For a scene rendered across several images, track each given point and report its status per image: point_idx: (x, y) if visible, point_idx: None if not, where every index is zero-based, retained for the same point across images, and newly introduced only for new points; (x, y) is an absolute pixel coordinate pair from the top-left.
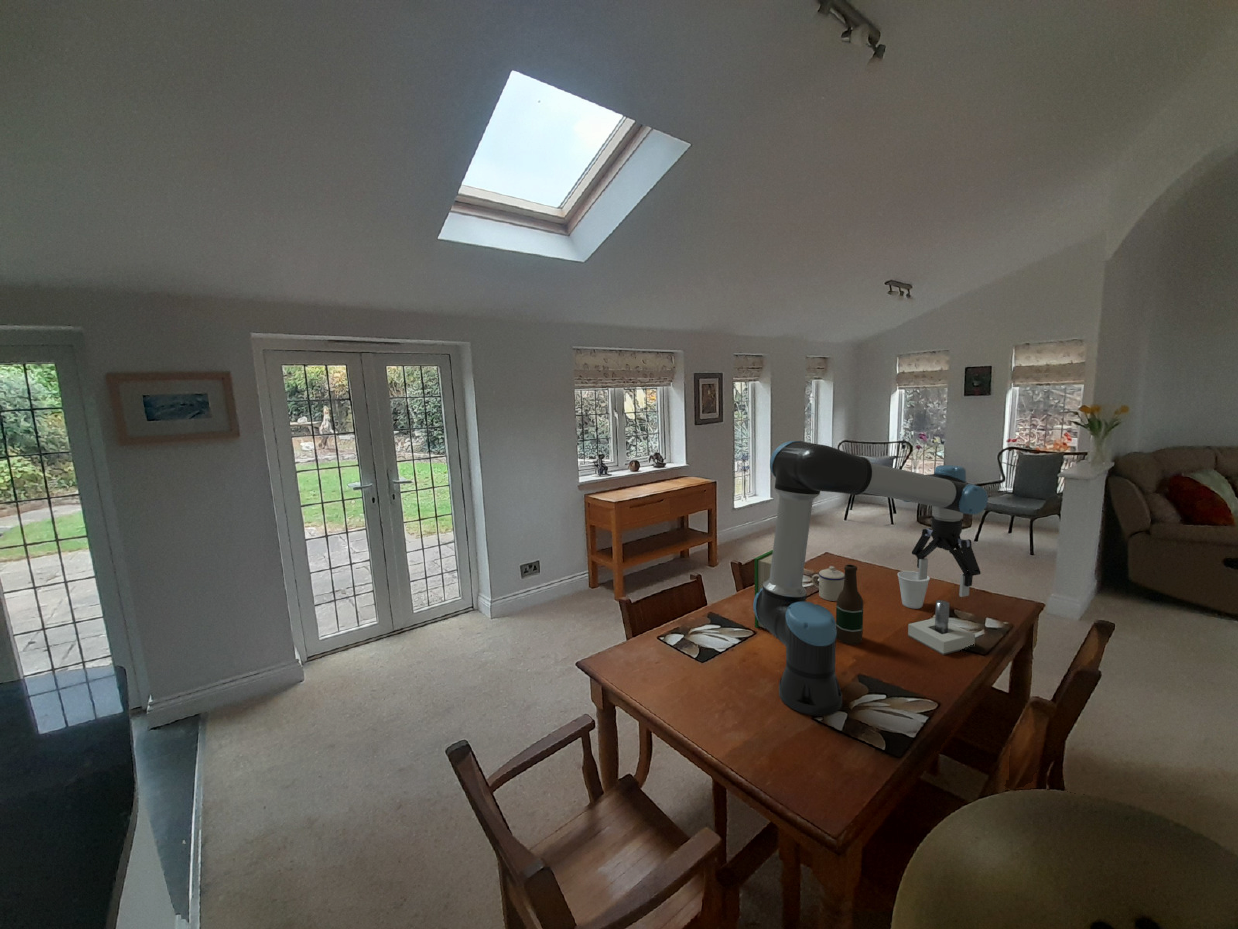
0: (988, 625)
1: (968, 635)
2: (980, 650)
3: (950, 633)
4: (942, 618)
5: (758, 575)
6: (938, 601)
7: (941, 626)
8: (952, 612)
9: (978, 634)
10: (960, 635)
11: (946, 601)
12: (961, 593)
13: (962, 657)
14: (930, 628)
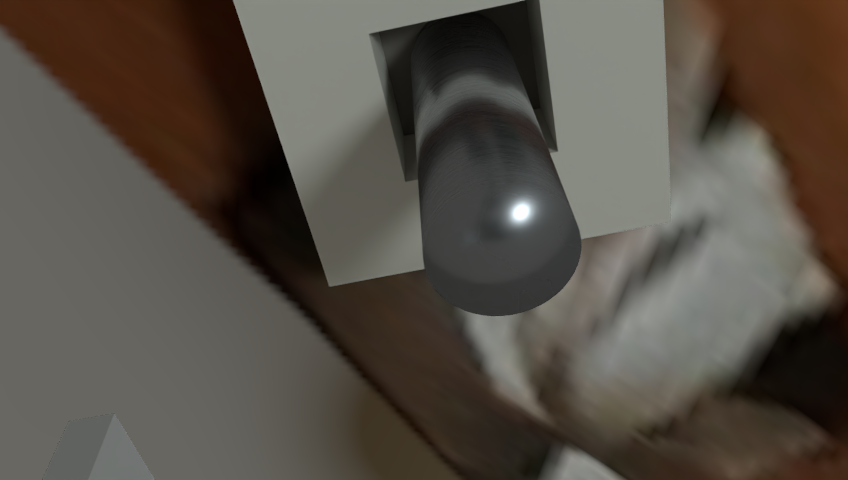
0: (578, 469)
1: (320, 233)
2: (289, 234)
3: (374, 120)
4: (427, 128)
5: None
6: (547, 227)
7: (428, 87)
8: (800, 405)
9: (493, 358)
10: (327, 175)
11: (518, 311)
12: (54, 473)
13: (194, 45)
14: (540, 33)
